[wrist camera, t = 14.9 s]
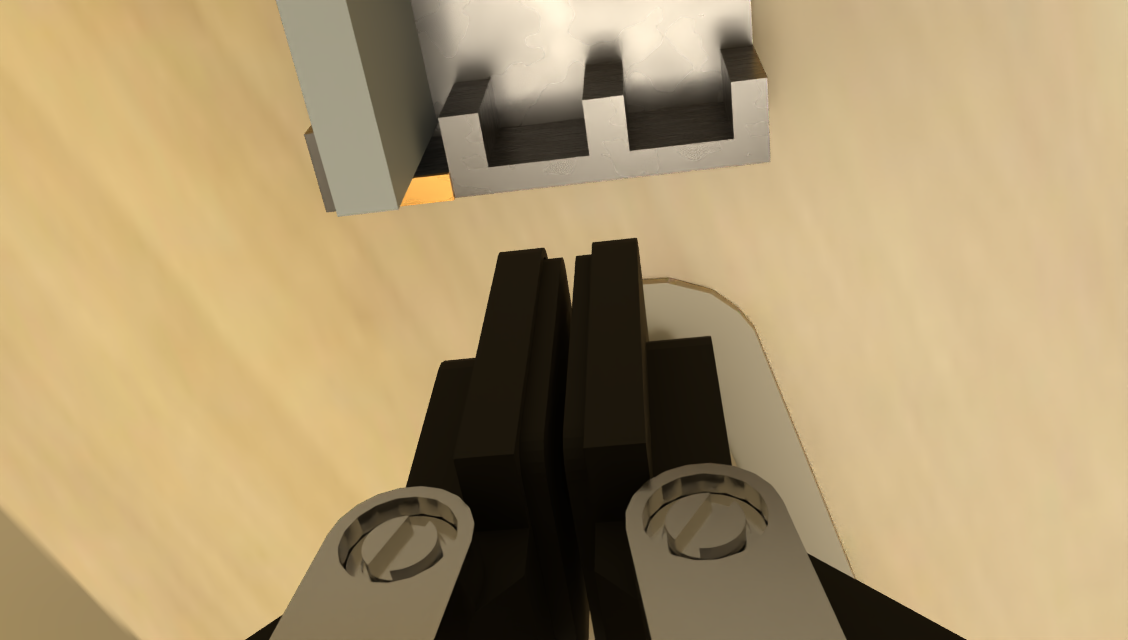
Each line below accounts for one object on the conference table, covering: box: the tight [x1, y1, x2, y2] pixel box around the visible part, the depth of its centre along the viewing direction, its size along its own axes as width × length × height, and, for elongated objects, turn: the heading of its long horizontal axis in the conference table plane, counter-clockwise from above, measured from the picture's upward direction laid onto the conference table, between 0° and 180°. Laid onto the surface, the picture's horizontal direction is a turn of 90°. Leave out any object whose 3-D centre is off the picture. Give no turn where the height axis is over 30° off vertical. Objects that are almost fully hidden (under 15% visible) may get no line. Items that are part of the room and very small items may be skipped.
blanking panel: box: [276, 0, 437, 217], centre depth 32 cm, size 2×11×8 cm, turn 8°
